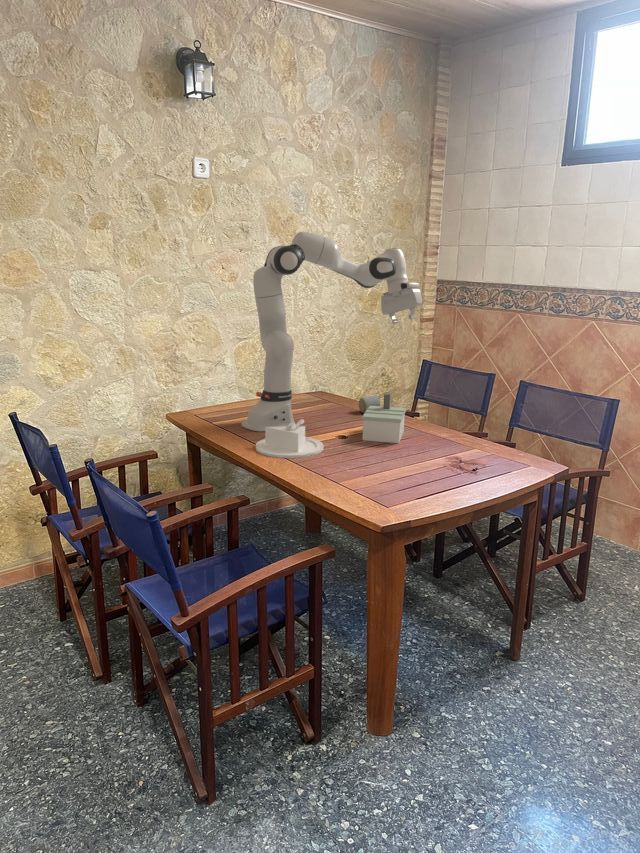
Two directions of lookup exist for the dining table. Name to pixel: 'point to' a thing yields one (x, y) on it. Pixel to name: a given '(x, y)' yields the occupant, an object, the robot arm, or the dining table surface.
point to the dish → (288, 442)
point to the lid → (384, 412)
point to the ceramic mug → (368, 402)
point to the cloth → (458, 459)
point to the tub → (383, 431)
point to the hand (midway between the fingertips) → (403, 321)
